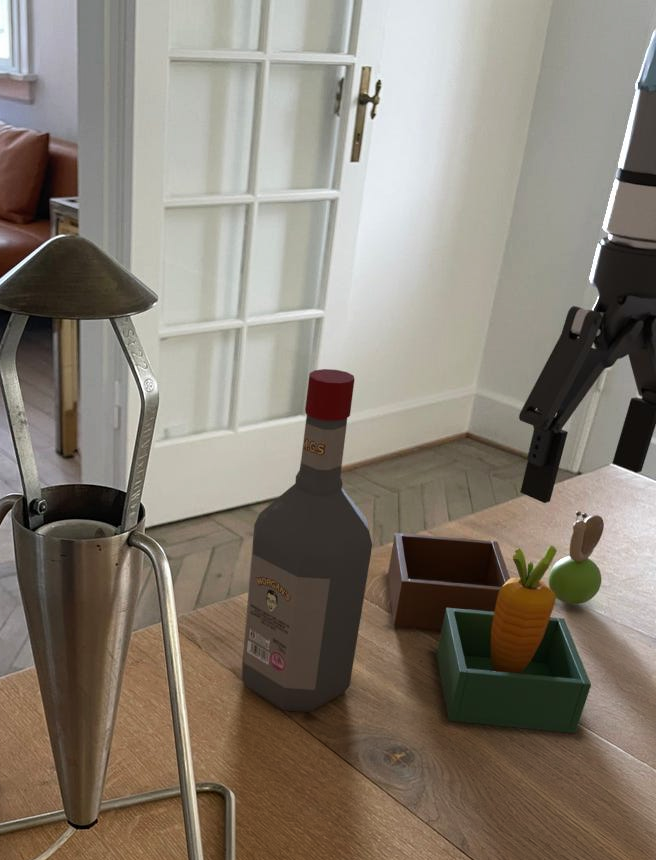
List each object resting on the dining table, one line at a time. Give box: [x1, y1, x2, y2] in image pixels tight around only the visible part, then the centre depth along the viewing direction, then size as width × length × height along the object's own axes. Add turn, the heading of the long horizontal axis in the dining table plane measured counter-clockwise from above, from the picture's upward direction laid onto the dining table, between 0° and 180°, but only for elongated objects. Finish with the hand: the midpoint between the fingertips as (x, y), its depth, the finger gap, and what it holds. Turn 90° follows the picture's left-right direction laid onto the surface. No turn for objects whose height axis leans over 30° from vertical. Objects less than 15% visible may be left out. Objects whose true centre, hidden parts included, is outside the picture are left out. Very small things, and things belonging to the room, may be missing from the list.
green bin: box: [435, 608, 592, 734], centre depth 92 cm, size 11×11×6 cm
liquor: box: [241, 368, 373, 713], centre depth 85 cm, size 9×9×30 cm
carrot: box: [491, 545, 558, 674], centre depth 89 cm, size 5×5×15 cm
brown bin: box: [387, 532, 511, 631], centre depth 106 cm, size 11×11×6 cm
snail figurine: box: [548, 510, 605, 605], centre depth 105 cm, size 5×6×12 cm
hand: (582, 482), depth 90 cm, fingers open, 13 cm apart
